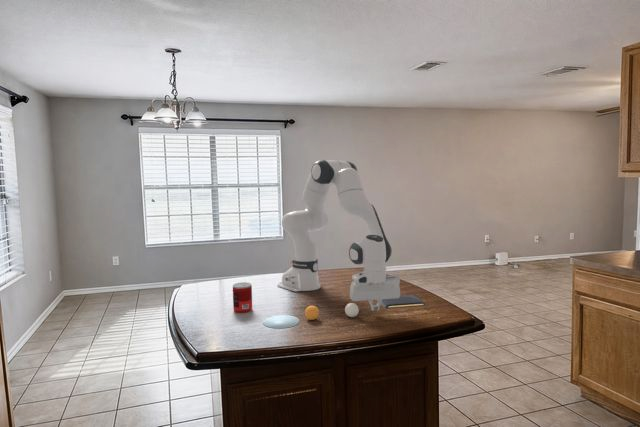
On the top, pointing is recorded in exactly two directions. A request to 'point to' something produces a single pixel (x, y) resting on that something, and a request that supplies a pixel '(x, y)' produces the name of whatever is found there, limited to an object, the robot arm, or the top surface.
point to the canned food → (242, 297)
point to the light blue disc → (281, 321)
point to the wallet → (402, 302)
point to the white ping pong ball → (351, 309)
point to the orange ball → (311, 312)
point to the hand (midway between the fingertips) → (375, 310)
